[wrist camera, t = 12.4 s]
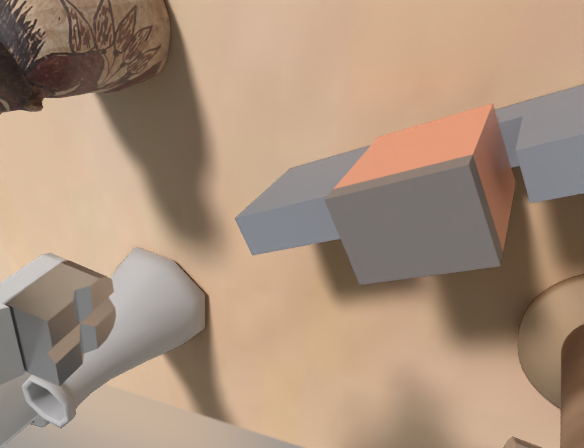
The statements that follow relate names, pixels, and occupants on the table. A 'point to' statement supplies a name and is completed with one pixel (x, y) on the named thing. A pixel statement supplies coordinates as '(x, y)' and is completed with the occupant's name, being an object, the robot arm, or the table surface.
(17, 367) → the robot arm
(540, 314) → the brown spool-shaped piece
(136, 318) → the flask
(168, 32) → the figurine
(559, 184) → the bracket
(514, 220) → the table surface
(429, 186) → the block
